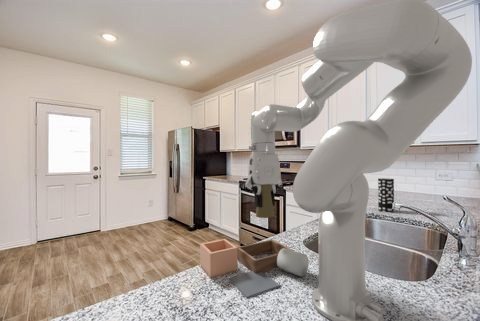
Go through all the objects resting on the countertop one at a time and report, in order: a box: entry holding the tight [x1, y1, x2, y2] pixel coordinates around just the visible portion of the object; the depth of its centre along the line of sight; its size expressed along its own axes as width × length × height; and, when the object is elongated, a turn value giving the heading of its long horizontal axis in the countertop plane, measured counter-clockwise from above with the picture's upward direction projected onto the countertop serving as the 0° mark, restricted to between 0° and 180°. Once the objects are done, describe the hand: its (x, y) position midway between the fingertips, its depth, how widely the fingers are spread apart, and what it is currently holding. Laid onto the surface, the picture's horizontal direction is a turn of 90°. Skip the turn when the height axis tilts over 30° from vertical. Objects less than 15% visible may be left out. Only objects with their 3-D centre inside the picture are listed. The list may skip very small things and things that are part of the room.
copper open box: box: [199, 238, 239, 280], centre depth 68 cm, size 9×9×7 cm
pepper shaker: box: [255, 184, 275, 219], centre depth 73 cm, size 6×6×11 cm
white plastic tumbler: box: [277, 248, 309, 278], centre depth 66 cm, size 7×6×6 cm
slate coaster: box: [228, 270, 281, 299], centre depth 60 cm, size 10×10×1 cm
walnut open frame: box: [236, 239, 295, 273], centre depth 73 cm, size 12×15×4 cm
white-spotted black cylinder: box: [377, 177, 395, 213], centre depth 141 cm, size 8×8×20 cm
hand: (264, 205), depth 73 cm, fingers closed on pepper shaker, 4 cm apart
